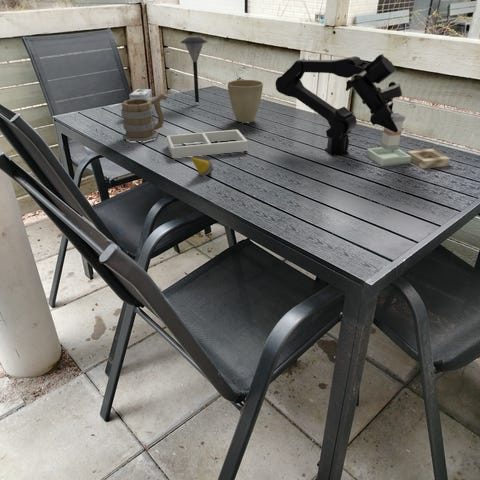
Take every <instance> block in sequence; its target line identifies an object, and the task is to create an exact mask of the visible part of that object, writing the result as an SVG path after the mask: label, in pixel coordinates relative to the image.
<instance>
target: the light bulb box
mask: <svg viewBox="0 0 480 480" xmlns="http://www.w3.org/2000/svg"><path fill="white" fill-rule="evenodd" d="M128 96H129V100H130V99H147V100H153V97H152V89H151V88H149V89H147V88H137V89H135V90H134V91H133V92H131V93H129V95H128ZM153 105H154V104H153ZM153 105H152V107H154V106H153Z"/></svg>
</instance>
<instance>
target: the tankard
mask: <svg viewBox="0 0 480 480" xmlns="http://www.w3.org/2000/svg"><path fill="white" fill-rule="evenodd" d="M167 99H168V96H167V95H165V94H163V93H159V94H158V96H156V97H154V98H152V100H147V99H130V98H129V99H126V100H124V101H123V102H122V103H121V107H122V109H121V110H120V113H121V117H123V121H124V122H122V125H123V129H124V131H125V133H124V134H123V135H122V139H123V138H125V139H127V140H129V141H141V142H143V141H147V140H150V139H154V138H156V136H157V135H158V136H159V132H158V131H156V130H159V129H161V128H163V125H164V122H165V114H164V112H163V111H162V107H161V101H162V100H163V101H166V100H167ZM152 105H154V106H153V107H152ZM155 112H156V115H157V117H158V121H157V122H156V120H155V119H154V116H153V115H154V114H155ZM156 139H157V138H156Z"/></svg>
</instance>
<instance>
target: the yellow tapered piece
mask: <svg viewBox="0 0 480 480" xmlns="http://www.w3.org/2000/svg"><path fill="white" fill-rule="evenodd" d="M189 159H190V160H191V161H192V163H193V165H194V166H195V168H196V170H197V173H198V175H200V176H201V177H206V176H207V175H209V174H212V173H211V172H213V171H214V168H213V162H212V161H210V160H209V159H201V158H198V157H190V158H189Z"/></svg>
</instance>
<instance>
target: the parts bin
mask: <svg viewBox="0 0 480 480" xmlns="http://www.w3.org/2000/svg"><path fill="white" fill-rule="evenodd" d="M233 139H236V140H237V141H228V142H217V143H211V142H210V141H222V140H233ZM194 142H203V144H196V145H185V146H174V145H173V144H182V143H194ZM166 143H167V145H168V146H167V148H168V147H169V149H168V151H169V150H170V151H169V154H170V153H171V154H170V156H171V155H172V156H171V159H172V158H178V157H188V156H199V155H209V154H218V153H230V152H241V153H244V152H243V151H248V150H249V147H248V146H249V144H248V143H249V141H248V140H247V138H246V137H245V136H244V135H243V134H242V133H241V131H240V130H239V129H229V130H227V129H226V130H217V131H205V132H194V133H184V134H183V133H182V134H171V135H170V134H169V135H166Z"/></svg>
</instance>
